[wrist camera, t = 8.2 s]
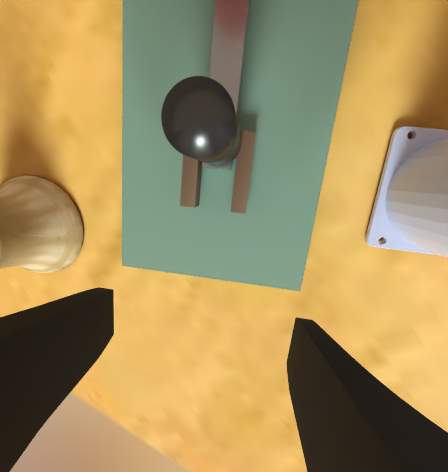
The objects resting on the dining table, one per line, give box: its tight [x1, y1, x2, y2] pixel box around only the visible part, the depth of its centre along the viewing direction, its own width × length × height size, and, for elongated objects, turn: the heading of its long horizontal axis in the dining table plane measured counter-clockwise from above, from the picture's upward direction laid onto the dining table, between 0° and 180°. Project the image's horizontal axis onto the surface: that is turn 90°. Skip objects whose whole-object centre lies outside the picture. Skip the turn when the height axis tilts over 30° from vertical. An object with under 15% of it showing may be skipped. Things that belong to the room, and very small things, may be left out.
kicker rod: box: [161, 0, 250, 170], centre depth 11 cm, size 4×11×7 cm, turn 174°
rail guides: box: [180, 131, 256, 214], centre depth 16 cm, size 4×5×1 cm
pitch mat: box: [122, 0, 359, 291], centre depth 16 cm, size 14×23×1 cm, turn 174°
